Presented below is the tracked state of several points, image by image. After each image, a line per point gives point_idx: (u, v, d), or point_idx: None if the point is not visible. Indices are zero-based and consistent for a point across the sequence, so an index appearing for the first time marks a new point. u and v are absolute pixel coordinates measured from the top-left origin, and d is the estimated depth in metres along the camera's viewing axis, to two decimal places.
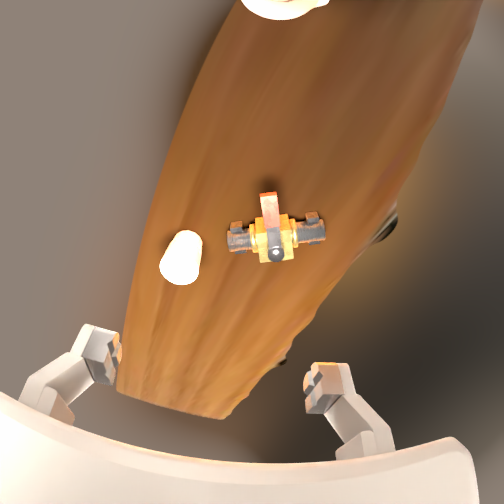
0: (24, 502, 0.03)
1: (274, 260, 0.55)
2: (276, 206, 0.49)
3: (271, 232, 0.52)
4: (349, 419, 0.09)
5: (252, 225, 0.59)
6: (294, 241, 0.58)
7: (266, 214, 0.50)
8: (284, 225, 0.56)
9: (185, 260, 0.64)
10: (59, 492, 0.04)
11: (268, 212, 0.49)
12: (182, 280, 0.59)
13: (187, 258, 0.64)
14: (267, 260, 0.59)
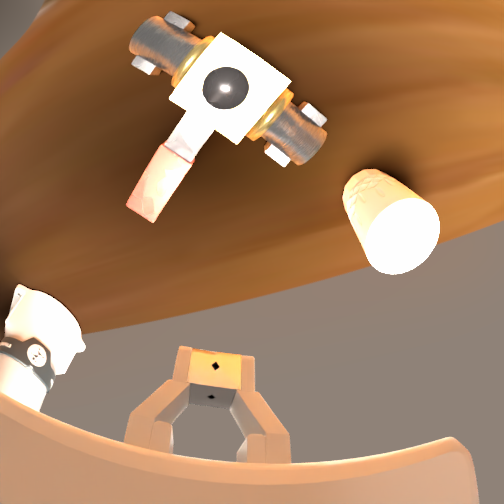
0: (24, 502, 0.03)
1: (241, 78, 0.17)
2: (139, 187, 0.21)
3: (188, 144, 0.19)
4: (246, 418, 0.09)
5: None
6: (192, 60, 0.19)
7: (166, 188, 0.21)
8: None
9: None
10: (59, 492, 0.04)
11: (160, 188, 0.21)
12: (429, 211, 0.22)
13: None
14: (273, 72, 0.19)
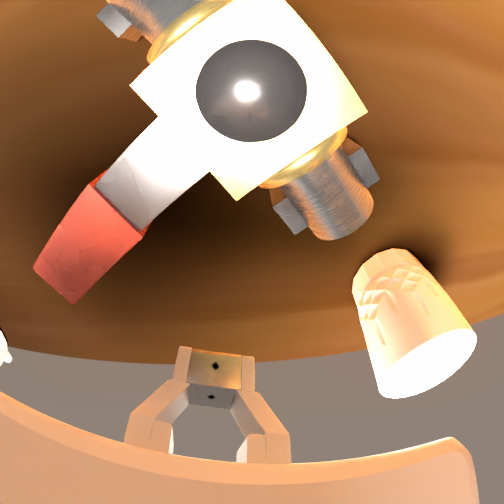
0: (24, 502, 0.03)
1: (294, 79, 0.07)
2: (50, 248, 0.10)
3: (143, 195, 0.09)
4: (246, 418, 0.09)
5: None
6: (194, 22, 0.09)
7: (93, 263, 0.10)
8: None
9: None
10: (59, 492, 0.04)
11: (83, 260, 0.10)
12: (467, 335, 0.15)
13: None
14: (341, 85, 0.09)
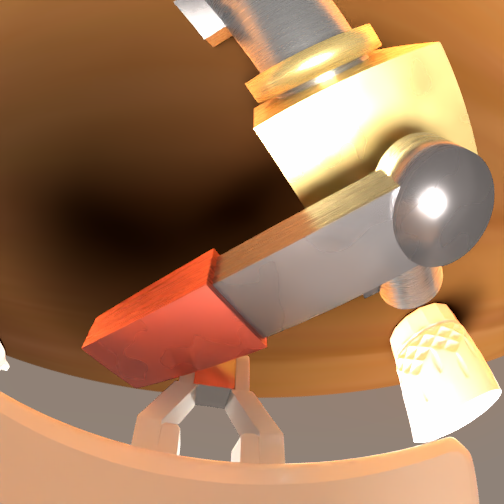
0: (24, 502, 0.03)
1: (485, 207, 0.05)
2: (117, 338, 0.08)
3: (283, 305, 0.07)
4: (241, 418, 0.09)
5: None
6: (338, 57, 0.07)
7: (184, 362, 0.09)
8: None
9: None
10: (59, 492, 0.04)
11: (168, 358, 0.08)
12: None
13: None
14: None
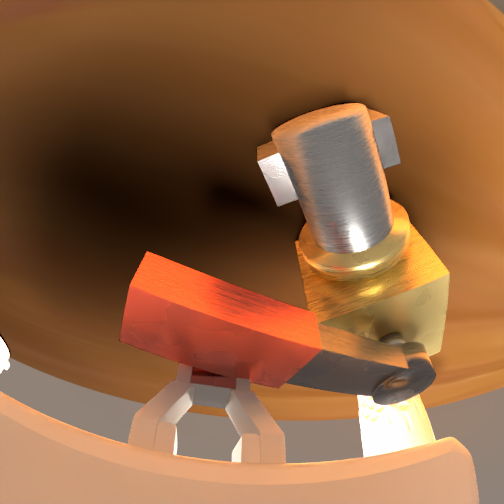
0: (24, 502, 0.03)
1: (412, 395, 0.11)
2: (198, 317, 0.08)
3: (318, 376, 0.10)
4: (242, 418, 0.09)
5: None
6: (377, 270, 0.12)
7: (217, 364, 0.09)
8: None
9: None
10: (59, 492, 0.04)
11: (211, 355, 0.09)
12: None
13: None
14: (437, 340, 0.13)
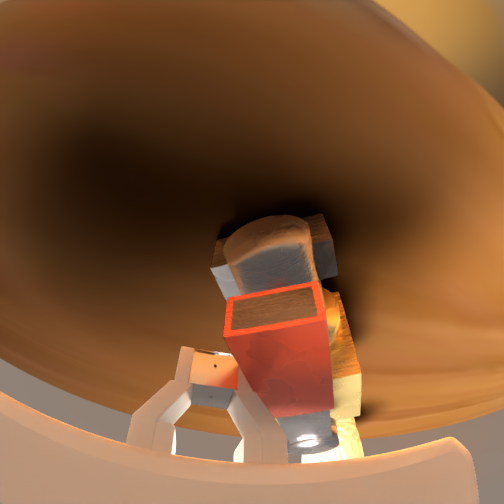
0: (24, 502, 0.03)
1: (307, 453, 0.14)
2: (322, 362, 0.08)
3: (297, 420, 0.11)
4: (244, 418, 0.09)
5: None
6: None
7: (271, 390, 0.09)
8: None
9: None
10: (59, 492, 0.04)
11: (280, 384, 0.09)
12: None
13: None
14: (355, 409, 0.17)
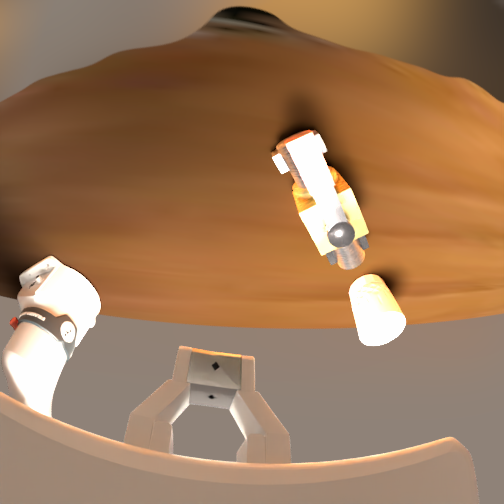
0: (24, 502, 0.03)
1: (341, 245, 0.32)
2: (318, 152, 0.26)
3: (323, 200, 0.29)
4: (246, 418, 0.09)
5: None
6: None
7: (306, 171, 0.27)
8: None
9: None
10: (59, 492, 0.04)
11: (308, 166, 0.27)
12: (401, 317, 0.40)
13: None
14: (362, 224, 0.34)
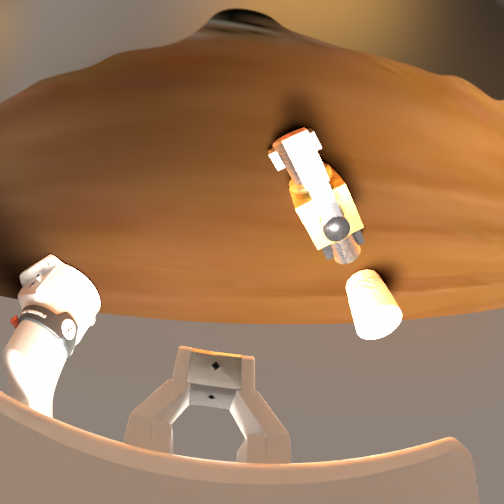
0: (24, 502, 0.03)
1: (337, 239, 0.33)
2: (313, 148, 0.27)
3: (319, 195, 0.30)
4: (246, 418, 0.09)
5: None
6: None
7: (301, 167, 0.28)
8: None
9: None
10: (59, 492, 0.04)
11: (303, 162, 0.28)
12: (398, 311, 0.41)
13: None
14: (357, 219, 0.35)
